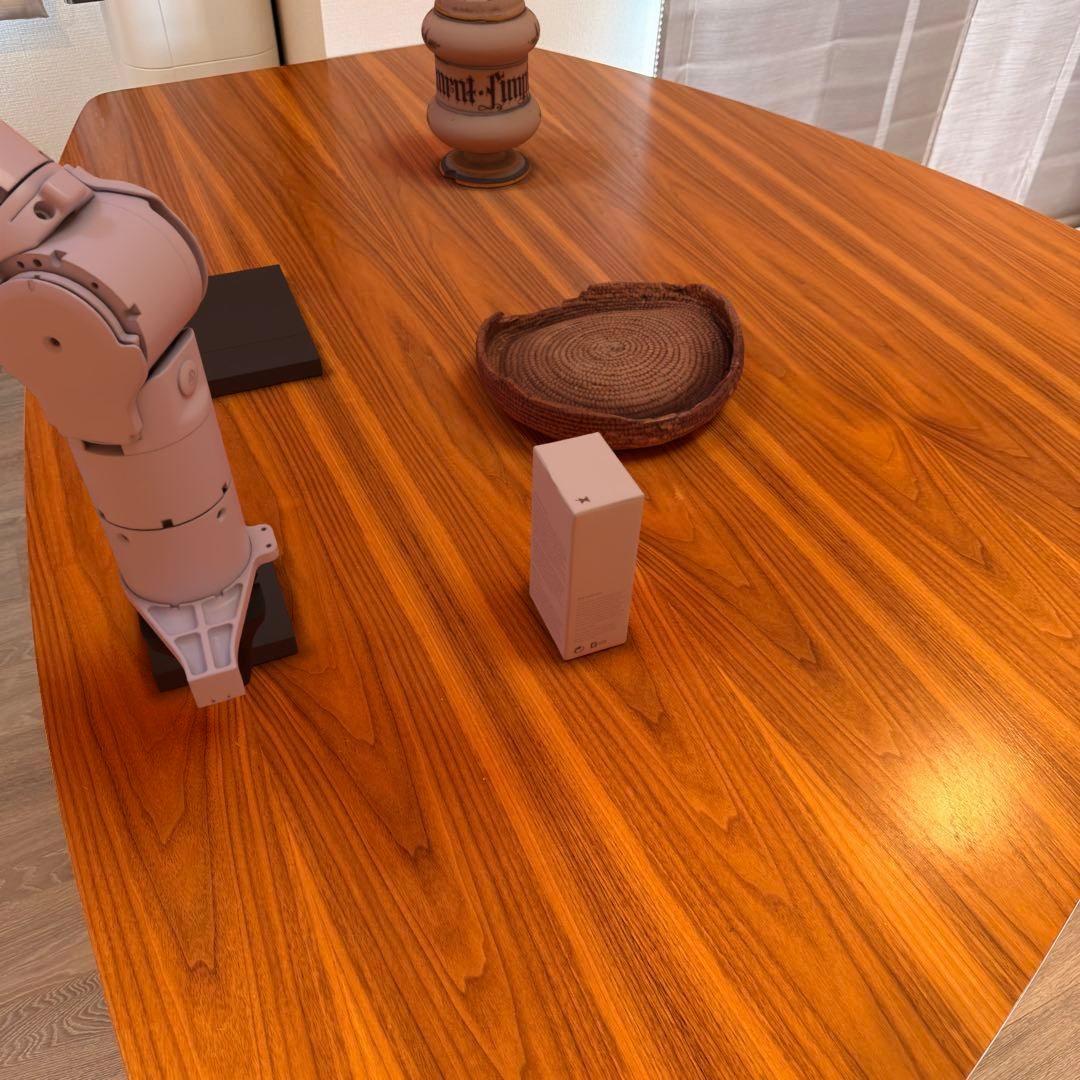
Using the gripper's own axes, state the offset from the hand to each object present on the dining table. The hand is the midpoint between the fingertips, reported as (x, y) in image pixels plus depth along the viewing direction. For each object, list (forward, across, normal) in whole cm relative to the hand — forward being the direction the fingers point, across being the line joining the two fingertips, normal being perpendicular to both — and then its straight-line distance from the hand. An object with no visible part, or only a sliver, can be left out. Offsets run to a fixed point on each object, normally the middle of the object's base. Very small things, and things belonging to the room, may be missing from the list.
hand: (228, 680), depth 51 cm
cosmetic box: (+4, 0, -20) cm, 21 cm away
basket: (+4, +22, -34) cm, 41 cm away
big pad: (+4, +40, -4) cm, 40 cm away
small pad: (+4, +10, 0) cm, 11 cm away
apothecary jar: (+4, +64, -38) cm, 74 cm away
